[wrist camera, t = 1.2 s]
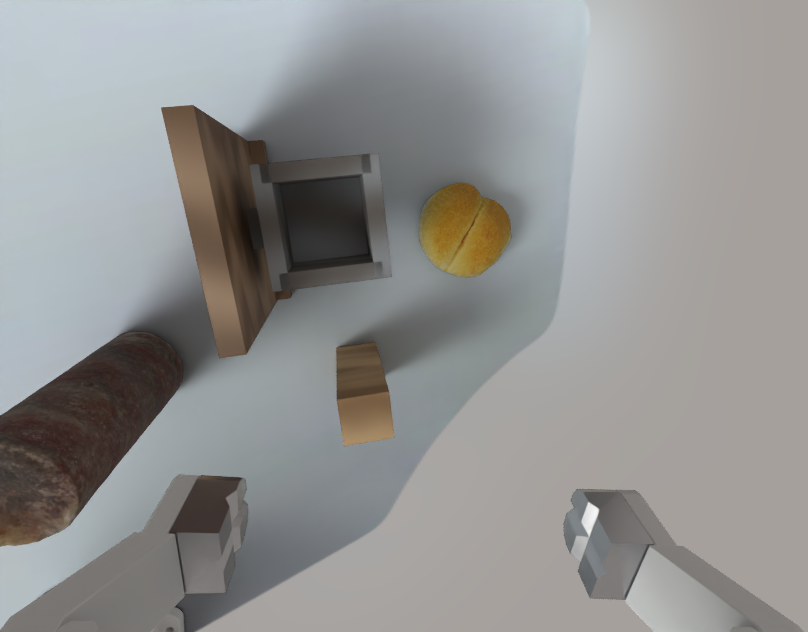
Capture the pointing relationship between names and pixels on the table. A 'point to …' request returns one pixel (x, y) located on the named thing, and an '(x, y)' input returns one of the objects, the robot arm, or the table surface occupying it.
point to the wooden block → (362, 395)
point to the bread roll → (463, 230)
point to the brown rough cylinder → (79, 433)
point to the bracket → (271, 222)
